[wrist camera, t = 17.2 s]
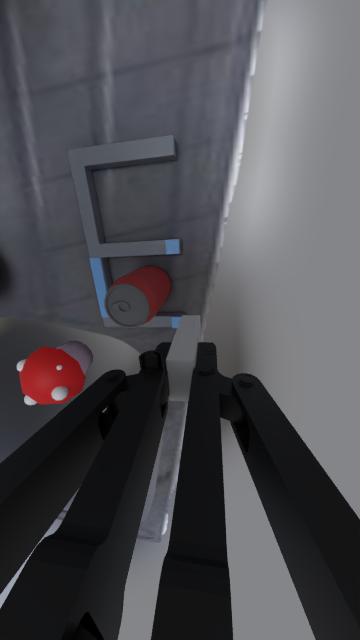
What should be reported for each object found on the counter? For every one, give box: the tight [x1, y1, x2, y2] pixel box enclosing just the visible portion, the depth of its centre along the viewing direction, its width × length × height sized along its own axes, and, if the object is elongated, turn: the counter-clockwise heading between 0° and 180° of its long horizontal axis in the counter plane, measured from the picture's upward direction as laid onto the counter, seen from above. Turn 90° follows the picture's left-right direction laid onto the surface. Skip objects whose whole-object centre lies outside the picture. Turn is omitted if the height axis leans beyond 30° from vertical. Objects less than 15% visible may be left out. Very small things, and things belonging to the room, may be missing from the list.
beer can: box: [104, 266, 171, 329], centre depth 30 cm, size 7×7×12 cm
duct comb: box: [67, 135, 185, 328], centre depth 32 cm, size 26×14×2 cm, turn 3°
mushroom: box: [17, 341, 93, 405], centre depth 37 cm, size 11×11×12 cm
